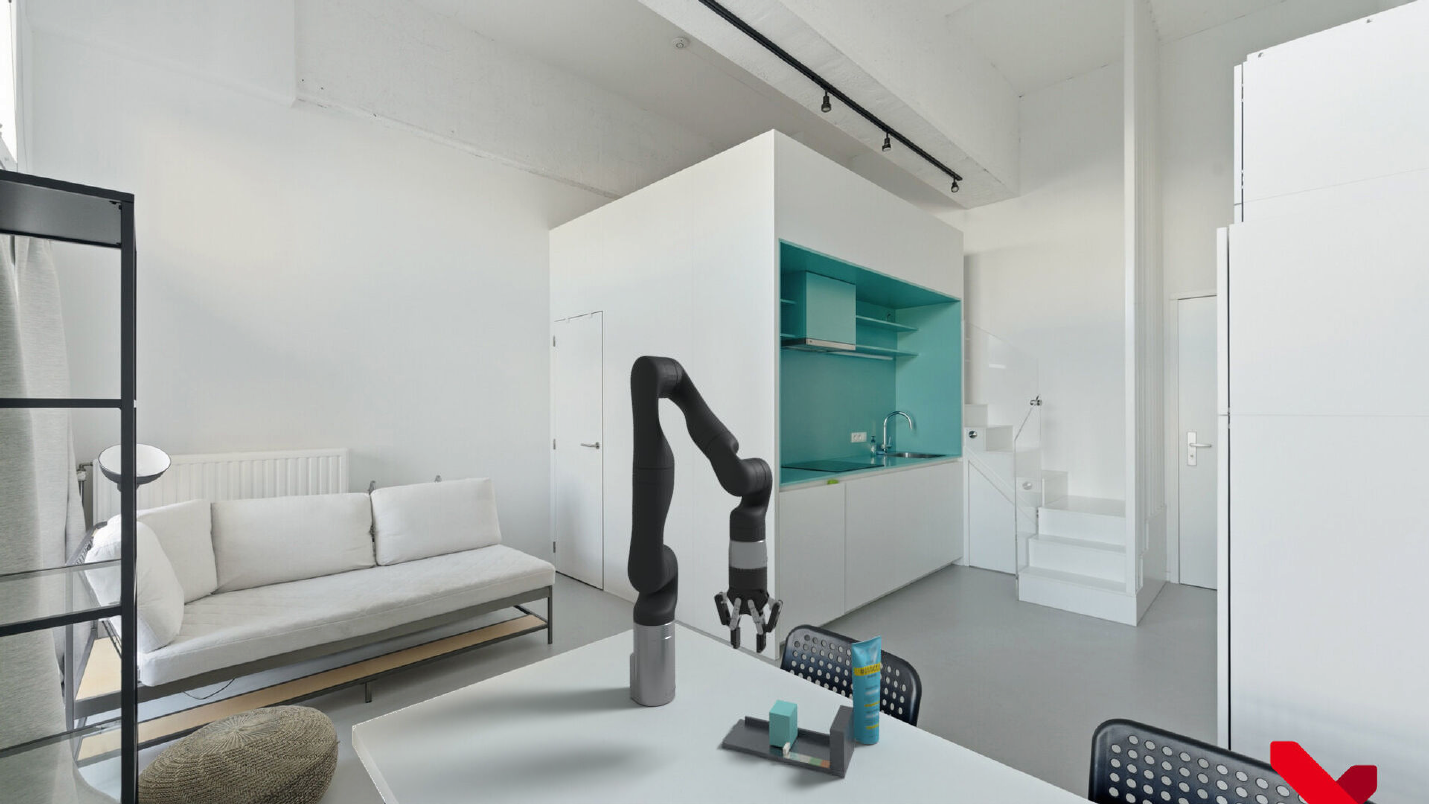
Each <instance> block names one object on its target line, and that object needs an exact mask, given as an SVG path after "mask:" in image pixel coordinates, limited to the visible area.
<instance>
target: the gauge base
mask: <svg viewBox="0 0 1429 804" xmlns="http://www.w3.org/2000/svg"><path fill="white" fill-rule="evenodd" d="M797 733H798V735H797V737H796V739H795V741H794V742H793V744H792V746H791V748H790V749H789V751H788V752H787V754H786V755H785V754H783V747H779V746H775V745H771V744H769V720H766V719H763V718H758V717H753V716H748V715H745V716H744V719H741V718H739V719H738V721H737V722H736V723H735V724H734V726H733V727H732V728H731V730H730V731H729V733H728V734H727V735H726V737H725V738H724V739H723V741H722V744H721V746H722V749H727V750H729V749H730V751H734V752H738V753H741V752H742V754H747V755H749V754H750V755H749V756H753V757H758V758H762V759H766V760H770V761H774V762H778V763H782V764H785V765H789V766H794V767H797V768H801V769H805V770H809V771H813V772H818V773H822V774H825V775H829V776H833V777H838V778H841V779H846V778H845V777H846V774H847V771H848V769H849V766H850V763H851V760H852V759H853V758H852V757H853V756H854V755H853V754H854V752H855V738H854V708H853V706H848V705H841V704H840V705H839V707H838V710H837V713H836V714H835V717H834V719H833V721H832V723H831V725H830V727H829V733H824V732H821V731H816V730H810V729H807V728H801V727H798V726H797Z"/></svg>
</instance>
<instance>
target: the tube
mask: <svg viewBox="0 0 1429 804" xmlns="http://www.w3.org/2000/svg"><path fill="white" fill-rule="evenodd" d="M850 646H851V649H850V650H851V652H850V653H851V673H852V674H851V675H852V676H851V677H852V679H851V680H852V682H851V683H852V707H853V708H854V741H856V742H859V743H860V744H864V745H875V744H877V743H878V742H879V741H880V699H881V698H880V696H881V695H880V693H881V660H882V659H881V658H882V652H881V651H882V635H878V636H874V637H872V638H870V639H866V640H863V641H862V640H861V641H858V642H855V643H854V642H853V643H851V645H850Z"/></svg>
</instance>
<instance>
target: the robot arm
mask: <svg viewBox="0 0 1429 804" xmlns="http://www.w3.org/2000/svg"><path fill="white" fill-rule="evenodd" d="M629 381H630V383H629V384H630V397H631V410H632V427H633V428H632V439H633V441H632V443H633V449H632V451H633V452H632V454H633V455H632V472H631V473H632V476H631V477H632V478H631V479H632V480H631V486H632V487H631V489H632V493H631V494H632V500H631V533H630V534H631V536H630V541H629V542H630V543H629V551H628V558H627V571H626V572H627V576H628V577H627V578H628V581H629V583H630V584H631V587H633V588H634V591H636V592H637V593H638V596H637V599H636V601H635V603H634V605H633V611H632V634H633V635H632V637H633V639H632V640H633V642H632V643H633V644H632V645H633V649H632V650H633V652H632V653H630V655H629V698H630V699H633V700H635V702H637V704H640V705H643V706H648V707H656V706H662V705H666V704H669V703H670V702H672V701H673V700H674V699H675V697H676V687H677V686H676V615H675V614H676V608H677V604H678V597H679V596H678V595H679V563H678V558H677V556H676V554H675V551H674V550H673V549H672V548H671V547H670V546H668V545H666V544H664V543H665V542H664V540H665V539H664V538H665V537H664V532H665V525H666V520H667V517H668V513H669V510H670V506H671V503H672V500H673V495H674V488H675V470H676V469H675V467H676V466H675V465H676V463H675V462H676V461H675V456H674V453H673V450H672V448H671V446H670V443H669V442H668V439H667V437H666V435H665V432H664V431H663V429H662V425H661V423H660V422H661V421H660V416H659V413H660V412H659V411H660V410H659V404H660V402H659V401H660V400H659V399H668V400H670V401H671V402H672V403H673V404H675V405H676V406H677V407H678V409H680V411H681V413H682V415H683V416H684V419H685V420H684V421H685V424H686V429H687V433H688V435H689V436H690V438H691V440H692V442H693V443H694V444H695V446H696V447H697V448H698V449H699V450H700V451H701V453H702V454H703V455H704V456H705V458H706V459H707V460H708V461H709V462H710V465H711V468H712V470H713V472H714V474H715V476H716V478H717V481H718V483H719V485H720V486H721V487H722V489H723V490H724V491H726V492H727V493H728V494H729V495H731V496H733V497H737V498H741V499H740V502H739V504H738V505H736V507H735V508H733V509H732V510H731V511H730V514H729V529H728V530H729V534H728V535H729V542H728V549H727V551H728V552H727V553H728V554H727V555H728V567H727V568H728V570H727V571H728V589H727V591H725V592H723V591H718V592H717V593H716V594H715V595H714V596H713V600H714V603H715V606H716V610H717V613H718V617H719V620H720V621H719V622H720V624H721V625H722V626H727V627H728V628H729V630H730V631H729V632H730V634H729V635H730V640H729V641H730V645H731V646H732V649H734V650H738V649H739V648H740V647H741V626H740V624H741V620H742V617H743V616H744V615H748V616H750V617H751V618H752V621H753V624H754V625H755V628H756V632H757V633H756V634H755V636H756V637H755V643H756V644H755V649H756V651H755V652H756V654H762V653H763V652H764V650H765V649H766V648H767V633H768V634H771V633H772V632H773V630H774V629H776V628H777V624H778V621H779V618H780V614H781V610H782V608H783V604H784V602H783V600H782V599H778V600H776V599H774V598H772V597H771V596H770V593H769V591H768V562H769V561H768V560H769V557H768V547H767V539H766V537H767V536H766V535H767V534H766V531H767V529H766V527H767V526H766V516H767V512H768V508H769V506H770V505H769V504H770V500H771V495H772V490H773V480H774V479H773V478H774V477H773V472H772V469H771V467H770V464H768V462H767V461H766V460H765V459H762V458H760V457H750V458H742V459H741V458H740V457H739V456H738V455H737V454H738V451H739V449H740V443H739V441H738V439H737V438H736V436H735V435H734V434H733V433H732V432H731V431H730V430H729V429H728V427H727V426H726V425H725V424H724V423H723V422H722V421H721V420H720V418H719V417H718V416H717V415H716V414H715V413H714V411H713V410H712V409H711V408H710V407H709V405H708V404H707V403H706V401H705V400H704V398H703V396H702V394H701V393H700V392H699V390H698V388H697V387H696V386H695V384H694V382H693V380H692V379H691V377H690V376H689V374H688V372H687V371H686V369H685V368H684V366H682V364H681V363H680V362H679V361H678V360H676V359H675V358H672V357H668V356H658V355H657V356H656V355H641V356H639V357H638V358H636V360H635V361H634V363H633V365H632V367H631V371H630V379H629ZM728 601H729V602H730V604H731V605H732V607H733V609H732V613H730V609H729V605H728ZM767 604H768V609H769V611H770V614H769V618H768V622H766V614H765V610H764V608H765V606H766V605H767Z"/></svg>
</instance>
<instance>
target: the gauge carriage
mask: <svg viewBox="0 0 1429 804" xmlns="http://www.w3.org/2000/svg"><path fill="white" fill-rule="evenodd" d="M768 716H769V717H768V719H769V720H768V721H769V744H771V745H775V746H779V747H783V754H785V755H786V754H787V752H788V751H789V749H790V748H791V746H792V744H793V742H794V741H795V739H796V737H797V735H798V733H797V727H798V703H795V702H790V701H784V700H780V699H777V700H776V701H775V703H774V704H773V706H772V707H771V709H770V710H769V711H768Z"/></svg>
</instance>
